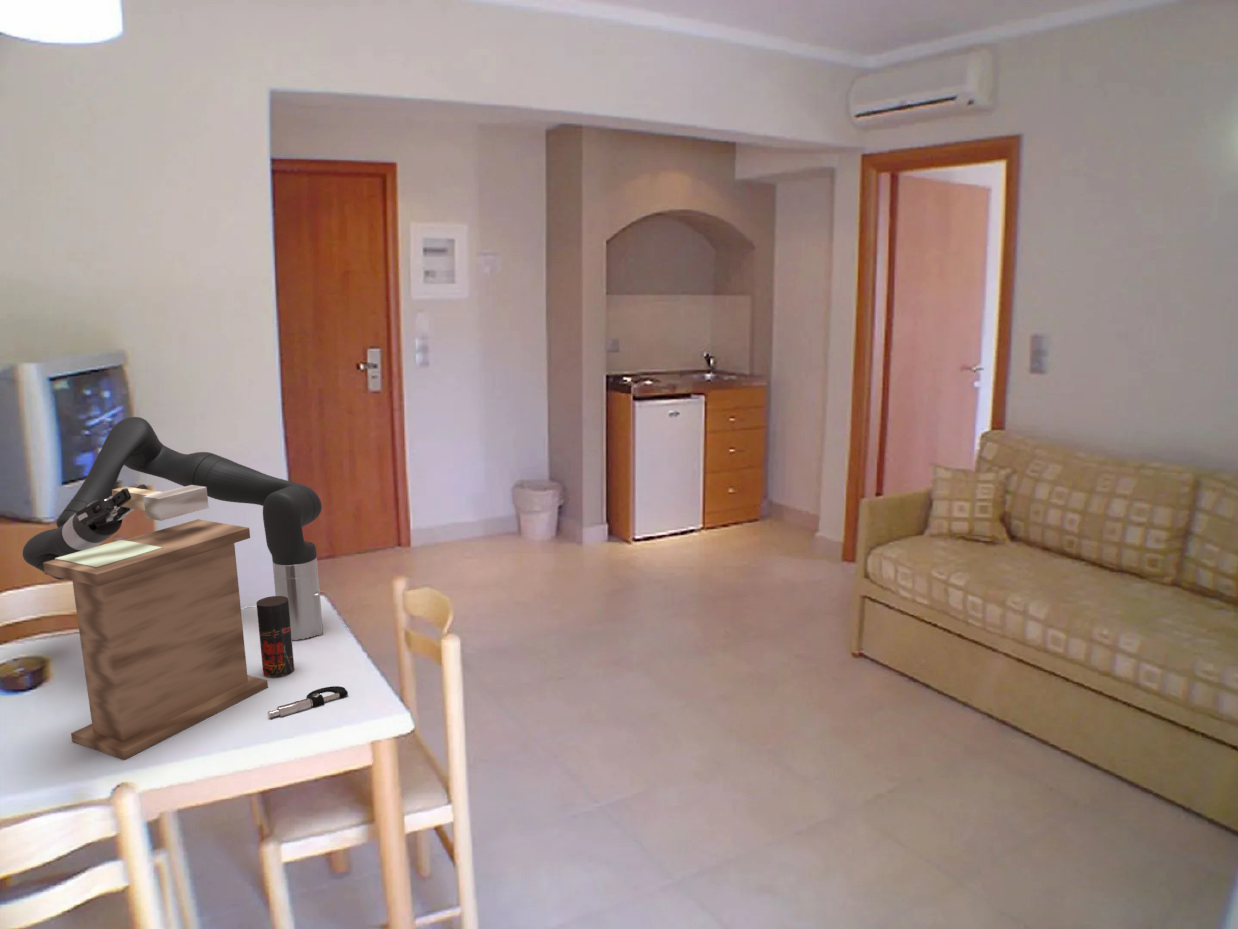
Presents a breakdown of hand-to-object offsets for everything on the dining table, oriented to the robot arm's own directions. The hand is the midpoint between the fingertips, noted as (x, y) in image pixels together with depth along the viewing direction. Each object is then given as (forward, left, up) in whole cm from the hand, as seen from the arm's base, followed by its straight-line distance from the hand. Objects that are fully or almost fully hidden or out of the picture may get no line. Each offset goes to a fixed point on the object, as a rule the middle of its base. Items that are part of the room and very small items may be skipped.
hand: (136, 491), depth 171 cm
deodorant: (-22, +2, -39) cm, 45 cm away
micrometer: (-27, +18, -40) cm, 51 cm away
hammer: (-3, +3, -3) cm, 5 cm away
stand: (-4, +14, -39) cm, 41 cm away
